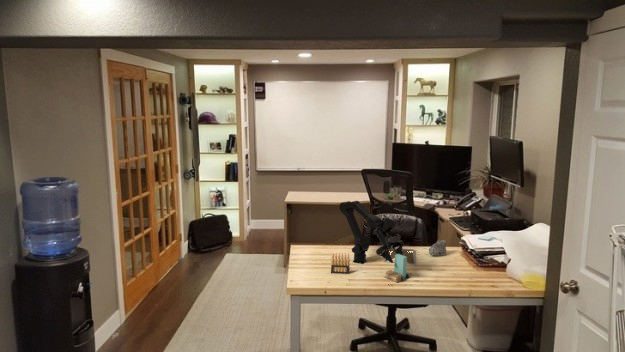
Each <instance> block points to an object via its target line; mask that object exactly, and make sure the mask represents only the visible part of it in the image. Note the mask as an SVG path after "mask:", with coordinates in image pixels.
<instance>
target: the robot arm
mask: <svg viewBox="0 0 625 352" xmlns="http://www.w3.org/2000/svg"><path fill="white" fill-rule="evenodd" d="M338 208H339V210H340V212H341V214H342V215H344V216H345V217H346V221H347V223H348V224H349V227H350V230H351V232H352V235H353V237H354V240H353V241H354V242H353V244H354V246H353V247H352V248H351V252H352V253H353V260H352V263H356V264H361V265H363V264H364V263H365V262H366V261H367V254H366V253H367V252H368V250H369V248H370V241H369V240H368V239H369V238H368V237H367V236H364V235H363V233H362V231H361V229H360V226H359V224H358V221H357V219H356V216H355V214H354V213H355V211H356V212H357V213H358V215H360V216H361V217H362V218H363V219H364V220H365V222H366V225H367V226H368V227H369V228H370V229H373V231H372V235H376V236H377V238H378V239H379V240H378V241H379V242H378V243H379V244H381V245H382V246H379V247H378V249H376V251H375V254H376V255H377V256H379V257H381V258H383V259H384V258H385V259H386V260H388V261H387V262H391V263H390V264H394V263H393V262H394V259H392V258H391V256H390V255H389V249H395V252H396V253H397V254H400V255H403V252H402V248H404V245H405V243H404V241H403V240H401V238H402V236H401V235H400V234H399V233H397V234H394V236H392V235H389V233H391V231H392V230H393V229H394V228H396V223H395V221H393V220H392V219H390V218H389V217H387V218H385V219H384V220H383V219H382V218H380V217H379V216H377V215H375V214H372V213H371V212H370V211H369V210H368V209H367V208H365V206H364V205H362V204H361V202H360V201H359V200H354V201H350V200H347V201H343V202H340V204H339V205H338Z"/></svg>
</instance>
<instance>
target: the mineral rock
mask: <svg viewBox="0 0 625 352" xmlns="http://www.w3.org/2000/svg"><path fill="white" fill-rule="evenodd" d="M446 247H447V241H446V240H445V239H443V240H441V239H438V240H437V241H436V242H435V243H433V244H432V245H431V246H430V247H429V249H428V254H429V255H430V256H434V257H435V256H437V257H438V256H443V255H446V254H447V248H446Z"/></svg>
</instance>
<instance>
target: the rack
mask: <svg viewBox="0 0 625 352" xmlns="http://www.w3.org/2000/svg"><path fill="white" fill-rule="evenodd" d="M383 278H384V279H386V278H385V276H383ZM409 279H411V273H409V272H406V278H404V276H402V277H401V281H399V282H395V281H392V280H390V279H388V280H389V281H392V282H394V283H396V284H399V283H403V282H404V281H407V280H409Z"/></svg>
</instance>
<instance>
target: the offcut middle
mask: <svg viewBox="0 0 625 352" xmlns="http://www.w3.org/2000/svg"><path fill="white" fill-rule="evenodd" d="M384 275H385V276H388V277H390V278H393V279H395V280H397V279H400V278H401V277H400V278H395V277H393V276H390V275H388V274H386V272H385V273H384Z"/></svg>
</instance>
